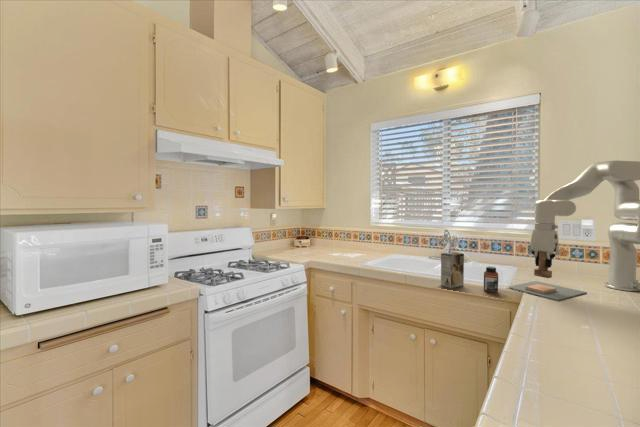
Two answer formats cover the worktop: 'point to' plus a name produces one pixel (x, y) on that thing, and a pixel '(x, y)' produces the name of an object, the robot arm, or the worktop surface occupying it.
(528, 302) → the worktop surface
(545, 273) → the wooden rubber stamp
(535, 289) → the tile
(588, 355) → the worktop surface
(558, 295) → the mat
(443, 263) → the coffee box
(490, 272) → the supplement bottle
